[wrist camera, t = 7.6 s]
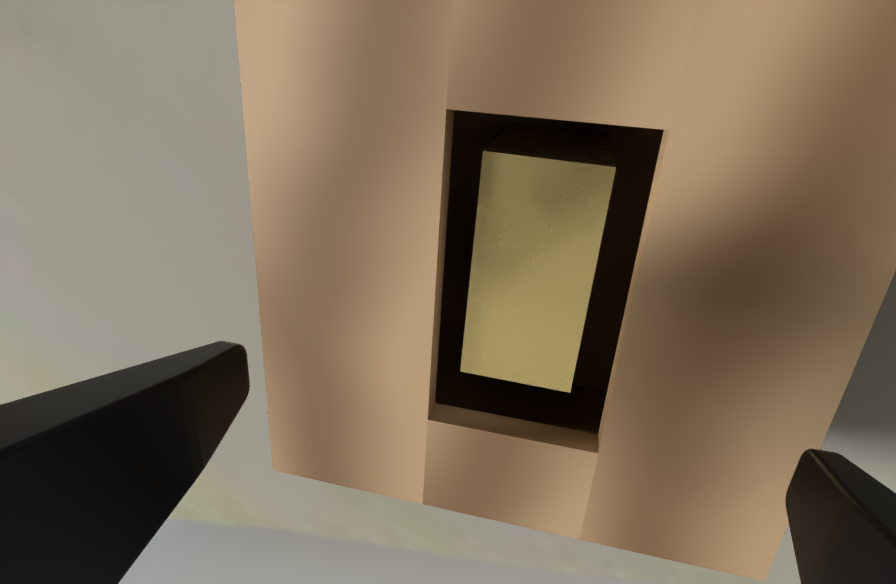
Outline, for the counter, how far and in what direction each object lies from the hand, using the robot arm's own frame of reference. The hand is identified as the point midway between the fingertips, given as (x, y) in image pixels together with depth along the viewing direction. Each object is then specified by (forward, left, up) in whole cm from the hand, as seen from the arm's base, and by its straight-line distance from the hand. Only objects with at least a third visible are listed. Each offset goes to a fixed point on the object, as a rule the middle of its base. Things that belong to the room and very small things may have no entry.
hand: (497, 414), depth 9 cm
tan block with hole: (0, 0, -12) cm, 12 cm away
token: (0, 0, -11) cm, 11 cm away
